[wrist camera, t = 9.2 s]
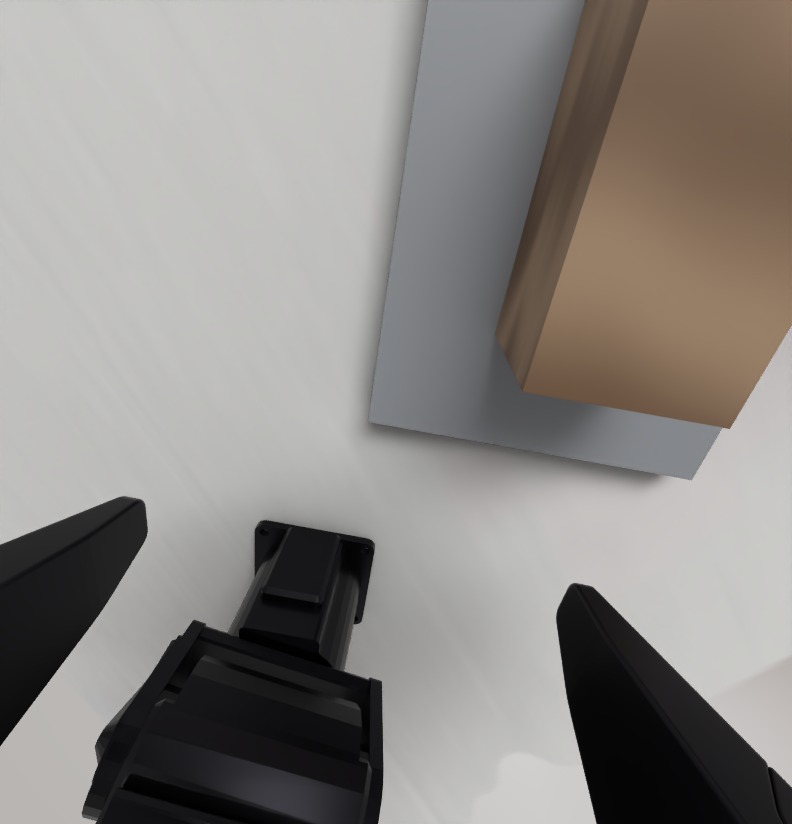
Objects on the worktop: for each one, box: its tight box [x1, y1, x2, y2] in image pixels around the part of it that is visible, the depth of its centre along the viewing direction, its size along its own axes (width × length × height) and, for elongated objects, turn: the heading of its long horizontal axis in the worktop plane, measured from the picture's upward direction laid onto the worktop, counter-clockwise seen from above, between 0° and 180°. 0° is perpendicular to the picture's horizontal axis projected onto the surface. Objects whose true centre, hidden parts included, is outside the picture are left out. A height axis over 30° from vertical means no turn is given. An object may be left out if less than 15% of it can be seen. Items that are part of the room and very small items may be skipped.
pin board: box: [368, 0, 722, 480], centre depth 12 cm, size 20×14×5 cm
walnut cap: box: [495, 0, 792, 429], centre depth 11 cm, size 11×5×6 cm, turn 171°
